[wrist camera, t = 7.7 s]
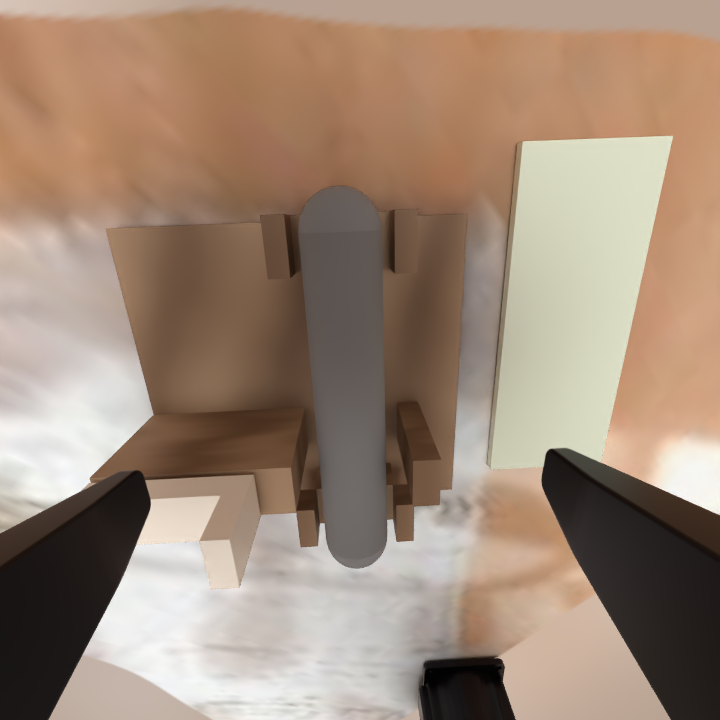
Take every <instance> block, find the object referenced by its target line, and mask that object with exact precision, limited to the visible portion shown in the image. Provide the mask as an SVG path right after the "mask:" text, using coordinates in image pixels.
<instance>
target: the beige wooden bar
mask: <svg viewBox="0 0 720 720" xmlns="http://www.w3.org/2000/svg"><path fill="white" fill-rule="evenodd" d="M145 481H146V485H147V488H148V492H149V495H150V499H151V508H150V512H149V515H148V517H147V519H146V522H145V524H144V527H143V529H142V532H141V534H140V537H139V539H138V541H137V544H136V545H140V544H157V543H175V542H193V541H199V543H200V547H201V551H202V555H203V559H204V563H205V567H206V571H207V575H208V579H209V583H210V587H211V589H227V588H240V585H241V581H242V578H243V575H244V571H245V568H246V564H247V561H248V558H249V554H250V551H251V547H252V544H253V541H254V537H255V534H256V531H257V527H258V524H259V520H260V517H261V515H260V509H259V503H258V497H257V491H256V485H255V479H254V475H235V476H216V477H197V478H179V479H160V480H145ZM94 484H96V483H89V484H88V485H87V486H86V487H85V488H84V489H86V488H88V487H90V486H92V485H94ZM84 489H83V490H84Z"/></svg>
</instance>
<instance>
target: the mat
mask: <svg viewBox="0 0 720 720" xmlns="http://www.w3.org/2000/svg"><path fill="white" fill-rule="evenodd" d="M672 138H673V136H655V137H628V138H602V139H575V140H549V141H523V142H521V143H519V144H517V151H516V162H515V173H514V183H513V194H512V205H511V215H510V226H509V236H508V247H507V258H506V268H505V279H504V289H503V300H502V311H501V321H500V332H499V343H498V353H497V364H496V374H495V385H494V396H493V406H492V417H491V428H490V438H489V449H488V459H487V465H488V466H489V468H490V470H496V469H514V468H533V467H544V461H545V455H546V452H547V451H548V450H549V449H551V448H569V449H571V450H574V451H576V452H578V453H580V454H583V455H585V456H587V457H589V458H592V459H594V460H596V461H598V462H601V461H602V457H603V452H604V447H605V443H606V438H607V434H608V429H609V425H610V420H611V416H612V411H613V407H614V402H615V397H616V393H617V388H618V384H619V379H620V375H621V370H622V366H623V361H624V357H625V352H626V347H627V343H628V338H629V334H630V329H631V325H632V320H633V316H634V311H635V307H636V302H637V297H638V293H639V288H640V284H641V279H642V275H643V270H644V266H645V261H646V256H647V252H648V247H649V243H650V238H651V234H652V229H653V225H654V220H655V216H656V211H657V206H658V202H659V197H660V193H661V188H662V184H663V179H664V175H665V170H666V166H667V161H668V156H669V152H670V147H671V143H672Z"/></svg>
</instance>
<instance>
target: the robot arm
mask: <svg viewBox="0 0 720 720" xmlns="http://www.w3.org/2000/svg"><path fill="white" fill-rule="evenodd" d="M542 487H543V490H544V492H545V495H546V497H547V499H548V501H549V503H550V505H551V508H552V510H553V512H554V514H555V516H556V518H557V520H558V523H559V525H560V527H561V529H562V531H563V533H564V535H565V538H566V540H567V542H568V544H569V546H570V548H571V550H572V552H573V554H574V556H575V558H576V559H577V561H578V563H579V565H580V566H581V568H582V570H583V572H584V573H585V575H586V577H587V578H588V580H589V582H590V583H591V585H592V587H593V588H594V590H595V592H596V594H597V595H598V597H599V599H600V600H601V602H602V604H603V605H604V607H605V609H606V610H607V612H608V614H609V616H610V617H611V619H612V621H613V622H614V624H615V626H616V627H617V629H618V631H619V632H620V634H621V636H622V638H623V639H624V641H625V643H626V644H627V646H628V648H629V649H630V651H631V653H632V654H633V656H634V658H635V660H636V661H637V663H638V665H639V666H640V668H641V670H642V671H643V673H644V675H645V677H646V678H647V680H648V681H649V683H650V685H651V687H652V688H653V690H654V692H655V693H656V695H657V697H658V699H659V700H660V702H661V704H662V705H663V707H664V709H665V710H666V712H667V714H668V716H669V717H670V719H671V720H720V515H718V514H715V513H713V512H711V511H709V510H706V509H704V508H702V507H700V506H697V505H695V504H693V503H691V502H688V501H686V500H684V499H682V498H679V497H677V496H675V495H673V494H670V493H668V492H666V491H664V490H661V489H659V488H657V487H655V486H652V485H650V484H648V483H646V482H643V481H641V480H639V479H637V478H634V477H632V476H630V475H628V474H625V473H623V472H621V471H619V470H616V469H614V468H612V467H610V466H607V465H605V464H603V463H601V462H598V461H596V460H594V459H592V458H589V457H587V456H585V455H583V454H580V453H578V452H576V451H574V450H571V449H569V448H551V449H549V450H548V451H547V452H546V455H545V461H544V467H543V473H542ZM150 508H151V499H150V495H149V492H148V488H147V485H146V481H145V478H144V475H143V473H142V472H141V471H139V470H126V471H119V472H117V473H115V474H113V475H111V476H109V477H107V478H105V479H103V480H102V481H100V482H98V483H96V484H94V485H92V486H90V487H88V488H86V489H84V490H82V491H81V492H79V493H77V494H75V495H73V496H71V497H69V498H67V499H65V500H63V501H61V502H60V503H58V504H56V505H54V506H52V507H50V508H48V509H46V510H44V511H42V512H40V513H39V514H37V515H35V516H33V517H31V518H29V519H27V520H25V521H23V522H21V523H20V524H18V525H16V526H14V527H12V528H10V529H8V530H6V531H4V532H2V533H0V720H49V718H50V716H51V714H52V712H53V710H54V708H55V706H56V704H57V702H58V700H59V698H60V696H61V695H62V693H63V691H64V689H65V687H66V685H67V683H68V681H69V679H70V678H71V676H72V674H73V672H74V670H75V668H76V666H77V664H78V662H79V660H80V658H81V657H82V655H83V653H84V651H85V649H86V647H87V645H88V643H89V641H90V639H91V638H92V636H93V634H94V632H95V630H96V628H97V626H98V624H99V622H100V620H101V618H102V617H103V615H104V613H105V611H106V609H107V607H108V605H109V603H110V601H111V599H112V597H113V596H114V594H115V592H116V590H117V588H118V586H119V584H120V582H121V579H122V577H123V575H124V573H125V571H126V568H127V566H128V563H129V561H130V558H131V556H132V554H133V551H134V549H135V546H136V544H137V541H138V539H139V537H140V534H141V532H142V529H143V527H144V524H145V522H146V519H147V517H148V515H149V512H150ZM504 669H505V667H504V664H503V661H502V660H501V659H498V658H496V659H480V660H464V661H448V662H432V663H427V664H425V665H424V667H423V685H421V686H420V687H419V695H418V708H419V715H420V720H516V719H515V716H514V713H513V710H512V708H511V705H510V702H509V699H508V696H507V693H506V690H505V687H504V684H503V675H504Z"/></svg>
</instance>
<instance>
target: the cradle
mask: <svg viewBox="0 0 720 720" xmlns="http://www.w3.org/2000/svg"><path fill="white" fill-rule="evenodd" d="M378 213H379V217H380V220H381V227H382V262H383V319H384V376H385V433H386V491H387V520H389V519H393V521H394V528H395V534H396V541H397V542H400V541H414V506H429V505H439V504H440V490H448V489H452V475H453V458H454V440H455V423H456V405H457V387H458V370H459V352H460V334H461V317H462V299H463V281H464V264H465V246H466V228H467V214H449V215H425V216H418V209H398V210H392V211H380V212H378ZM260 220H261V222H255V223H231V224H207V225H182V226H158V227H134V228H109V229H106V232H107V236H108V240H109V244H110V248H111V252H112V255H113V259H114V263H115V267H116V271H117V275H118V279H119V282H120V286H121V290H122V294H123V298H124V302H125V306H126V309H127V313H128V317H129V321H130V325H131V329H132V332H133V336H134V340H135V344H136V348H137V352H138V356H139V359H140V363H141V367H142V371H143V375H144V379H145V382H146V386H147V390H148V394H149V398H150V402H151V406H152V409H153V413H154V415H153V416H152V417H151V418H150V419H149V420H148V421H147V422H146V423H145V424H144V425H143V426H142V427H141V428H140V429H139V430H138V431H137V432H136V433H135V434H134V435H133V436H132V437H131V438H130V439H129V440H128V441H127V442H126V443H125V444H124V445H123V446H122V447H121V448H120V449H119V450H118V451H117V452H116V453H115V454H114V455H113V456H112V457H111V458H110V459H109V460H108V461H107V462H106V463H105V464H104V465H103V466H101V467H100V468H99V469H98V470H97V471H96V472H95V473H94V474H93V475H92V476H91V477H90V481H91V483H98V482H100V481H102V480H103V479H105V478H107V477H109V476H111V475H113V474H115V473H117V472H119V471H126V470H139V471H141V472H142V473H143V475H144V478H145V480H160V479H179V478H197V477H216V476H235V475H254V479H255V485H256V491H257V497H258V503H259V509H260V515H266V514H284V513H297V521H298V529H299V537H300V545H301V547H312V546H318V538H319V527H320V523H325V519H324V508H323V497H322V486H321V475H320V464H319V453H318V442H317V431H316V420H315V409H314V398H313V387H312V376H311V365H310V354H309V343H308V332H307V321H306V310H305V299H304V288H303V277H302V266H301V255H300V244H299V220H300V215H286V214H275V215H260Z"/></svg>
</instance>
